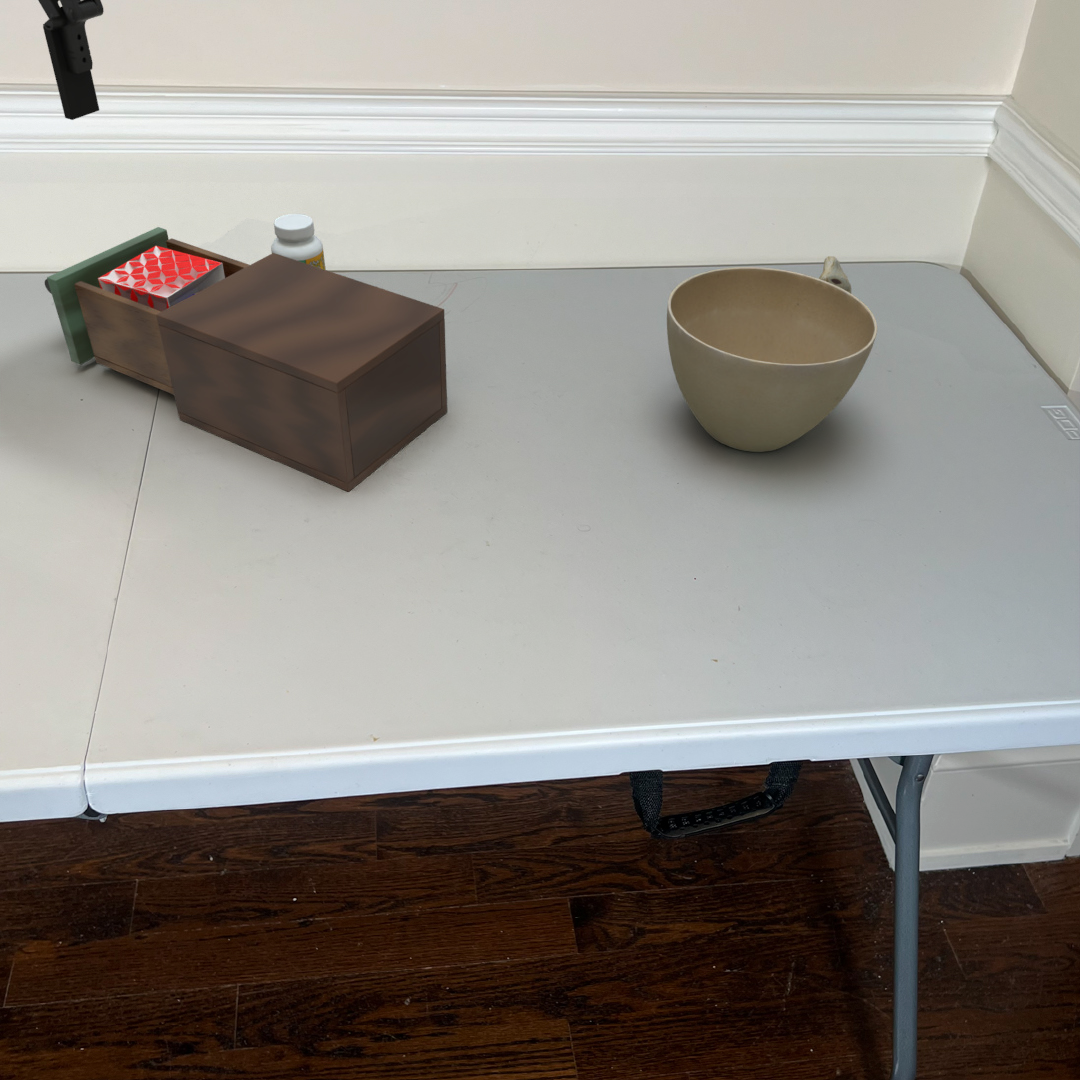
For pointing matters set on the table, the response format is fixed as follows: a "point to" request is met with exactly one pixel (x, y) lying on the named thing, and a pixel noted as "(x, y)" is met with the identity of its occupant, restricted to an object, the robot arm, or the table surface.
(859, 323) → the beige bowl
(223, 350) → the cabinet
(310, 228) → the supplement bottle
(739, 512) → the table surface
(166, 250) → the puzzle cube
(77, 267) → the drawer
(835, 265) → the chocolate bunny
